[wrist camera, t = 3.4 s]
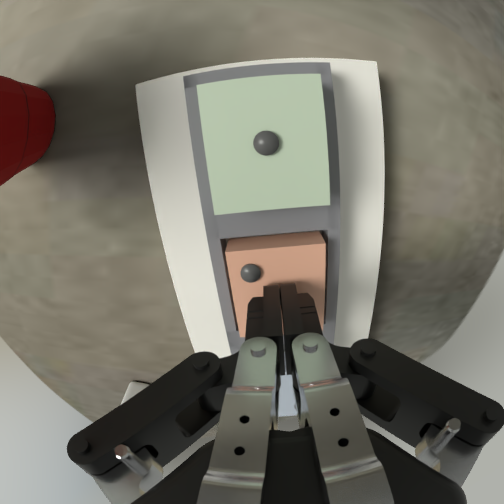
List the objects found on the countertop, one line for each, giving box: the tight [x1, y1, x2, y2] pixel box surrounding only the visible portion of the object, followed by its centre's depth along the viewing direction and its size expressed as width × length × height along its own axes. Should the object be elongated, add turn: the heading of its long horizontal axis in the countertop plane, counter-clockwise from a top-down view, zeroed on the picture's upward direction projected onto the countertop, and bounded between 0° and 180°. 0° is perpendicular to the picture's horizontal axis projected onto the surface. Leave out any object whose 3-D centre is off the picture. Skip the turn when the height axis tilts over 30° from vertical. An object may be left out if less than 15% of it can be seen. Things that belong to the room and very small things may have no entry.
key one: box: [196, 74, 330, 215], centre depth 10 cm, size 5×4×2 cm
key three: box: [225, 231, 326, 337], centre depth 14 cm, size 5×4×2 cm
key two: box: [278, 353, 297, 417], centre depth 16 cm, size 5×4×2 cm
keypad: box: [135, 58, 385, 358], centre depth 15 cm, size 22×12×4 cm, turn 6°
